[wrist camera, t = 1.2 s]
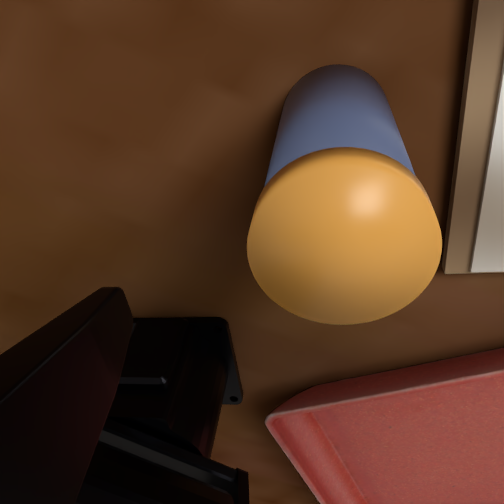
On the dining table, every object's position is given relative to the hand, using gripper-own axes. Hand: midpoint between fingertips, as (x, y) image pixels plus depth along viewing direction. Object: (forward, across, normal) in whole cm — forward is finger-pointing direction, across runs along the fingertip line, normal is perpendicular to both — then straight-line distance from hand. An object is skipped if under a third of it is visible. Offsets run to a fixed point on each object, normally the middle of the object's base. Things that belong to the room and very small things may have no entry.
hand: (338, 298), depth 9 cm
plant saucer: (+11, -7, +20) cm, 24 cm away
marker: (+10, 0, 0) cm, 10 cm away
